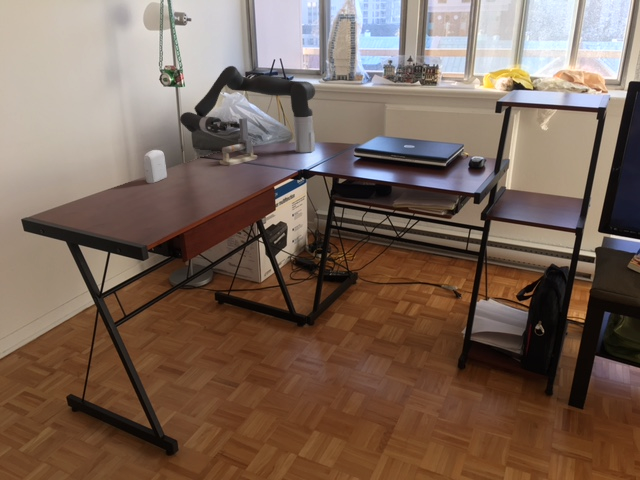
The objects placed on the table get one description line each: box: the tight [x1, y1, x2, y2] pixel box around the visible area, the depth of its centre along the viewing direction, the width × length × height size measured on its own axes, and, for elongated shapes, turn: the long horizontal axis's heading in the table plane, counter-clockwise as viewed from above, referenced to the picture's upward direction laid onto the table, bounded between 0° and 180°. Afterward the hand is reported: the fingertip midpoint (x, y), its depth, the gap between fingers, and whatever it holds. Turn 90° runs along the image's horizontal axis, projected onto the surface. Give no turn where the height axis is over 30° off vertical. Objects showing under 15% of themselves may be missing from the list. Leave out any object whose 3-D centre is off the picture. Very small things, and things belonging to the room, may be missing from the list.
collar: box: [237, 117, 253, 154], centre depth 253 cm, size 3×6×16 cm, turn 50°
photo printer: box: [142, 149, 168, 184], centre depth 222 cm, size 10×4×12 cm, turn 160°
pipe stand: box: [219, 141, 258, 166], centre depth 252 cm, size 17×7×8 cm, turn 140°
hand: (232, 127), depth 256 cm, fingers open, 8 cm apart
